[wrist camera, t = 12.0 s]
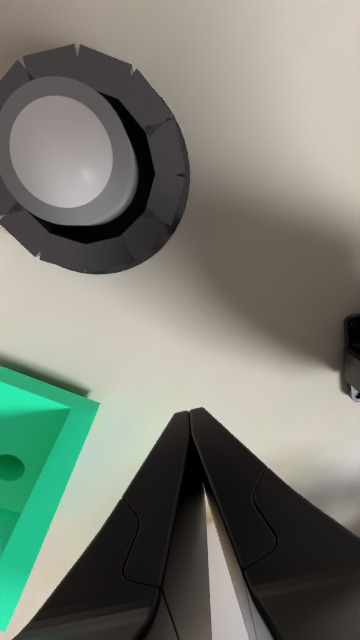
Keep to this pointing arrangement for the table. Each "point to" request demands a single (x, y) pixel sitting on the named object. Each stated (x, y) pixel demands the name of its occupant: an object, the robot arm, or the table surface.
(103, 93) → the dark grey ashtray
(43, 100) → the cap
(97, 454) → the table surface
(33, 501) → the camera mount
